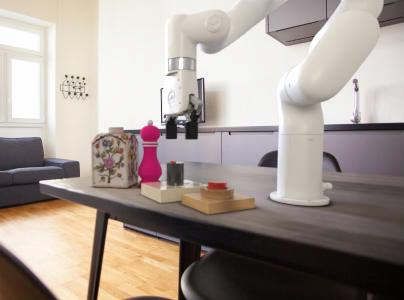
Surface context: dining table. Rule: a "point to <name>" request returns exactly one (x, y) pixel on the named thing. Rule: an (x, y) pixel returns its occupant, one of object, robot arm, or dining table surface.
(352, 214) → the dining table surface
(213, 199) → the button block
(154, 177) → the pepper mill
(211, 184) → the button
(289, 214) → the dining table surface
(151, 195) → the panel
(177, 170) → the dark grey block
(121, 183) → the decorative jar
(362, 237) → the dining table surface
